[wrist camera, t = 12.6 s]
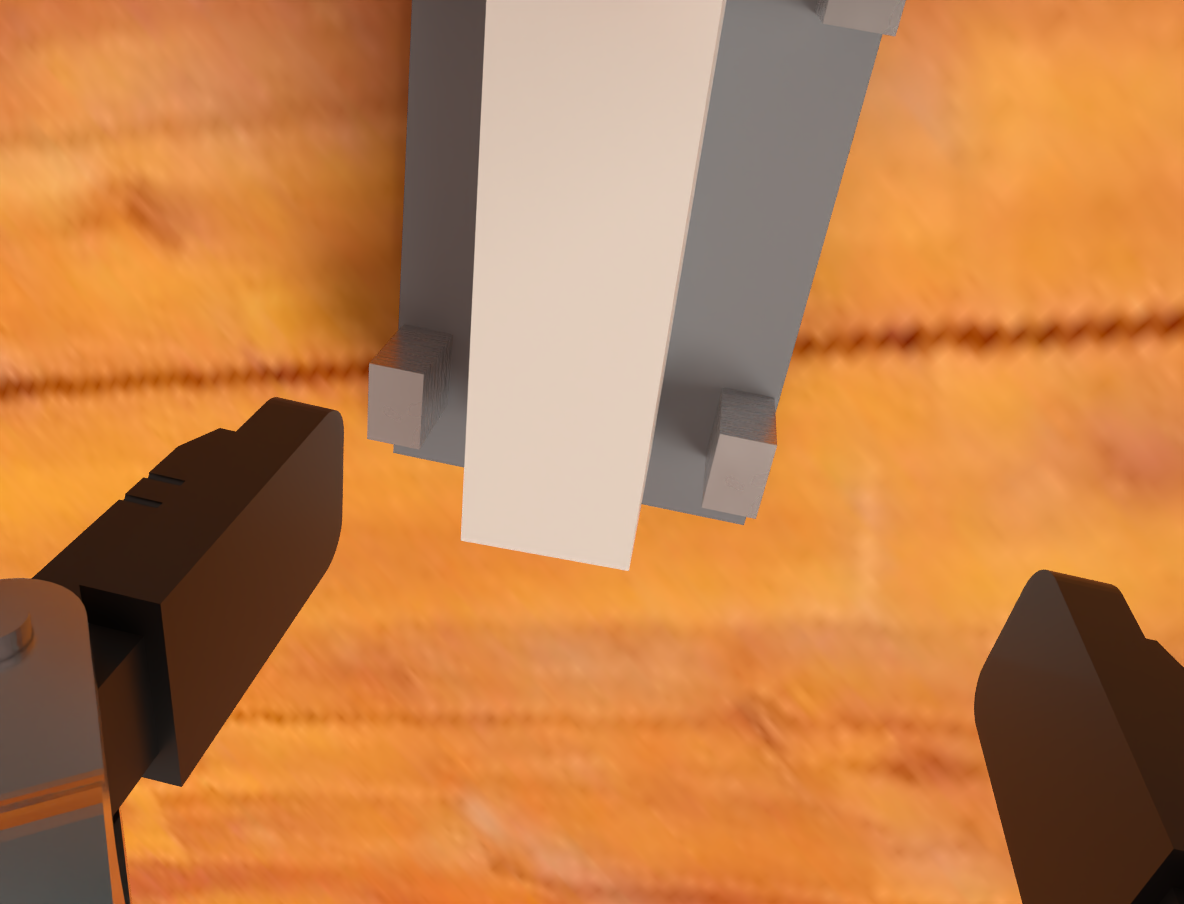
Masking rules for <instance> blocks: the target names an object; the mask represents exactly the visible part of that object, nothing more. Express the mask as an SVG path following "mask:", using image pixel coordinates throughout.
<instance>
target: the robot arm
mask: <svg viewBox="0 0 1184 904" xmlns="http://www.w3.org/2000/svg"><path fill="white" fill-rule="evenodd" d="M343 444H344V426H343V420H342V416H341V414H340V413H339V412H338V411H336V410H332V409H328V408H323V407H319V406H314V405H310V404H305V403H301V402H296V401H292V400H287V399H283V398H278V397H274V398H271V399H270V400H268V401H267V402H266V403H265V404H264V405H263V406H262V407H261V408H260V409H259V410H258V411H257V412H256V413H255V414H254V415H253V416H252V417H251V418H250V419H249V420H247V421H246V422H245V423H244V424H243V425H242V426H241V427H240V428H239V429H238V430H237V431H236V432H235V431H231V430H226V429H222V428H219V429H217V430H214V431H212V432H210V433H208V434H205V435H203V436H201V437H198V438H196V439H194V440H192V441H189V442H187V443H185V444H183V445H180V446H178V447H177V448H176V449H175V450H174V451H172V452H171V453H170V454H169V455H168V456H167V457H166V458H165V459H164V460H162V461H161V462H160V463H159V464H158V465H157V466H156V467H155V468H154V469H152V470H151V471H150V472H149V477H148V478H142V479H141V480H140V481H139V482H138V483H137V484H136V485H135V486H134V487H133V488H131V489H130V490H129V491H128V492H127V493H126V494H125V499H124V500H118V501H117V502H116V503H115V504H114V505H113V506H111V507H110V508H109V509H108V510H107V511H106V512H105V513H104V514H103V515H101V516H100V517H99V518H98V519H97V520H96V521H95V522H94V523H93V524H92V525H90V526H89V527H88V528H87V529H86V530H85V531H84V532H83V533H82V534H80V535H79V536H78V537H77V538H76V539H75V540H74V541H73V542H72V543H70V544H69V545H68V546H67V547H66V548H65V549H64V550H63V551H62V552H60V553H59V554H58V555H57V556H56V557H55V558H54V559H53V560H52V561H50V562H49V563H48V564H47V565H46V566H45V567H44V568H43V569H42V570H41V571H39V572H38V573H37V574H36V575H35V576H34V577H33V578H32V579H27V578H13V579H1V580H0V904H132V897H131V889H130V881H129V872H128V864H127V856H126V847H125V839H124V831H123V823H122V816H121V810H120V806H121V805H122V803H123V802H124V800H125V799H126V798H127V796H128V795H129V794H130V792H131V791H132V789H133V788H134V787H135V785H136V784H137V782H138V781H139V780H140V778H141V777H144V778H148V779H152V780H156V781H160V782H164V783H168V784H172V785H176V786H180V787H182V786H183V784H184V783H185V781H186V780H187V778H188V777H189V775H190V774H191V772H192V771H193V769H194V768H195V766H196V765H197V763H198V762H199V760H200V759H201V757H202V756H203V754H204V753H205V751H206V750H207V749H208V747H209V746H210V744H211V743H212V741H213V740H214V738H215V737H216V735H217V734H218V732H219V731H220V729H221V728H222V726H223V725H224V723H225V722H226V720H227V719H228V717H229V716H230V714H231V713H232V711H233V710H234V708H235V707H236V705H237V704H238V702H239V701H240V699H241V698H242V696H243V695H244V693H245V692H246V690H247V689H248V687H249V686H250V684H251V683H252V681H253V680H254V678H255V677H256V675H257V674H258V672H259V671H260V669H261V668H262V666H263V665H264V663H265V662H266V660H267V659H268V658H269V656H270V655H271V653H272V652H273V650H274V649H275V647H276V646H277V644H278V643H279V641H280V640H281V638H282V637H283V635H284V634H285V632H286V631H287V629H288V628H289V626H290V625H291V623H292V622H293V620H294V619H295V617H296V616H297V614H298V613H299V611H300V610H301V608H302V607H303V605H304V604H305V602H306V601H307V599H308V598H309V596H310V595H311V593H312V592H313V590H314V589H315V587H316V586H317V584H318V583H319V581H320V580H321V578H322V577H323V575H324V574H325V572H326V571H327V569H328V567H329V565H330V563H331V561H332V559H333V557H334V554H335V551H336V548H337V545H338V541H339V537H340V532H341V525H342V500H343ZM974 715H975V723H976V727H977V731H978V735H979V739H980V743H981V746H982V750H983V754H984V758H985V762H986V766H987V769H988V773H989V777H990V781H991V785H992V789H993V792H994V796H995V800H996V804H997V808H998V811H999V815H1000V819H1001V823H1002V827H1003V831H1004V834H1005V838H1006V842H1007V846H1008V850H1009V854H1010V857H1011V861H1012V865H1013V869H1014V873H1015V877H1016V880H1017V884H1018V888H1019V892H1020V896H1021V899H1022V903H1023V904H1184V667H1183V666H1182V665H1181V664H1179V663H1178V662H1177V661H1176V660H1175V659H1174V658H1173V657H1172V656H1171V655H1170V654H1169V653H1168V652H1167V651H1166V650H1165V649H1164V648H1163V647H1162V646H1161V645H1160V644H1159V643H1158V642H1157V641H1155V640H1150V639H1146V638H1145V636H1144V635H1143V633H1142V631H1141V629H1140V627H1139V625H1138V623H1137V621H1136V619H1135V618H1134V616H1133V614H1132V612H1131V610H1130V608H1129V606H1128V604H1127V602H1126V600H1125V599H1124V597H1123V595H1122V593H1121V592H1120V590H1119V589H1118V588H1117V587H1116V586H1114V585H1112V584H1107V583H1103V582H1098V581H1094V580H1089V579H1085V578H1080V577H1076V576H1071V575H1067V574H1062V573H1058V572H1053V571H1049V570H1040V571H1038V572H1036V573H1035V574H1034V575H1033V576H1032V577H1031V578H1030V579H1029V580H1028V582H1027V584H1026V585H1025V587H1024V589H1023V591H1022V593H1021V595H1020V597H1019V599H1018V601H1017V602H1016V604H1015V606H1014V608H1013V610H1012V612H1011V614H1010V616H1009V618H1008V620H1007V622H1006V624H1005V625H1004V627H1003V629H1002V631H1001V633H1000V635H999V637H998V639H997V641H996V643H995V645H994V647H993V648H992V650H991V652H990V654H989V656H988V658H987V660H986V662H985V664H984V666H983V668H982V670H981V673H980V676H979V679H978V682H977V687H976V692H975V702H974Z"/></svg>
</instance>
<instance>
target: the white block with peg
mask: <svg viewBox="0 0 1184 904" xmlns="http://www.w3.org/2000/svg"><path fill="white" fill-rule="evenodd" d="M726 1H727V0H486V18H485V39H484V61H483V82H482V103H481V124H480V145H479V167H478V188H477V209H476V230H475V252H474V273H473V294H472V315H471V336H470V358H469V379H468V400H467V421H466V443H465V464H464V485H463V506H462V527H461V541H467V542H472V543H478V544H483V545H489V546H494V547H500V548H505V549H511V550H516V551H522V552H527V553H533V554H538V555H544V556H549V557H555V558H560V559H566V560H571V561H577V562H582V563H588V564H593V565H599V566H605V567H610V568H616V569H621V570H627V571H629V567H630V562H631V556H632V551H633V546H634V541H635V535H636V530H637V525H638V519H639V514H640V509H641V503H642V498H643V493H644V488H645V482H646V477H647V472H648V466H649V461H650V456H651V451H652V445H653V439H654V433H655V427H656V421H657V415H658V409H659V403H660V397H661V391H662V385H663V379H664V373H665V367H666V361H667V355H668V349H669V343H670V337H671V331H672V325H673V319H674V313H675V307H676V301H677V295H678V289H679V283H680V277H681V271H682V265H683V259H684V253H685V247H686V241H687V235H688V229H689V223H690V217H691V211H692V205H693V199H694V193H695V187H696V181H697V175H698V169H699V163H700V157H701V151H702V145H703V139H704V133H705V127H706V121H707V115H708V109H709V103H710V97H711V91H712V85H713V79H714V73H715V67H716V61H717V55H718V49H719V43H720V37H721V31H722V25H723V19H724V13H725V7H726Z"/></svg>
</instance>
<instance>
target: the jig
mask: <svg viewBox="0 0 1184 904" xmlns="http://www.w3.org/2000/svg"><path fill="white" fill-rule="evenodd" d="M905 1H906V0H727V1H726V7H725V13H724V19H723V25H722V31H721V37H720V43H719V49H718V55H717V61H716V67H715V73H714V79H713V85H712V91H711V97H710V103H709V109H708V115H707V121H706V127H705V133H704V139H703V145H702V151H701V157H700V163H699V169H698V175H697V181H696V187H695V193H694V199H693V205H692V211H691V217H690V223H689V229H688V235H687V241H686V247H685V253H684V259H683V265H682V271H681V277H680V283H679V289H678V295H677V301H676V307H675V313H674V319H673V325H672V331H671V337H670V343H669V349H668V355H667V361H666V367H665V373H664V379H663V385H662V391H661V397H660V403H659V409H658V415H657V421H656V427H655V433H654V439H653V445H652V451H651V456H650V461H649V466H648V472H647V477H646V482H645V488H644V493H643V498H642V503H641V504H644V505H649V506H654V507H659V508H664V509H669V510H673V511H678V512H683V513H688V514H693V515H698V516H702V517H707V518H712V519H717V520H722V521H727V522H732V523H736V524H741V525H744V523H745V519H746V517H749V518H754V519H756V516H757V513H758V509H759V506H760V502H761V499H762V496H763V492H764V489H765V485H766V482H767V478H768V475H769V471H770V468H771V464H772V461H773V458H774V454H775V451H776V447H777V436H776V417H775V413H776V409H777V406H778V402H779V399H780V395H781V391H782V388H783V384H784V381H785V377H786V374H787V370H788V367H789V363H790V360H791V356H792V352H793V349H794V345H795V342H796V338H797V335H798V331H799V328H800V324H801V321H802V317H803V314H804V310H805V306H806V303H807V299H808V296H809V292H810V289H811V285H812V282H813V278H814V275H815V271H816V267H817V264H818V260H819V257H820V253H821V250H822V246H823V243H824V239H825V236H826V232H827V229H828V225H829V221H830V218H831V214H832V211H833V207H834V204H835V200H836V197H837V193H838V190H839V186H840V182H841V179H842V175H843V172H844V168H845V165H846V161H847V158H848V154H849V151H850V147H851V143H852V140H853V136H854V133H855V129H856V126H857V122H858V119H859V115H860V112H861V108H862V105H863V101H864V97H865V94H866V90H867V87H868V83H869V80H870V76H871V73H872V69H873V66H874V62H875V58H876V55H877V51H878V48H879V44H880V41H881V37H882V34H885V35H890V36H896V32H897V29H898V25H899V22H900V18H901V15H902V12H903V8H904V5H905ZM485 18H486V0H412V17H411V41H410V65H409V89H408V113H407V138H406V162H405V186H404V210H403V234H402V258H401V282H400V306H399V330H398V331H397V332H396V333H395V335H394V336H393V337H392V338H391V339H390V340H389V341H388V343H387V344H386V345H385V346H384V347H383V348H382V349H381V351H380V352H379V353H378V354H377V355H376V356H375V357H374V358H373V360H372V361H371V362H370V363H369V392H368V433H367V439H371V440H375V441H380V442H385V443H390V444H394V451H393V453H397V454H402V455H407V456H412V457H417V458H421V459H426V460H431V461H436V462H441V463H446V464H450V465H455V466H460V467H464V464H465V443H466V421H467V400H468V379H469V358H470V336H471V315H472V294H473V273H474V252H475V230H476V209H477V188H478V167H479V145H480V124H481V103H482V82H483V61H484V39H485Z"/></svg>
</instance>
